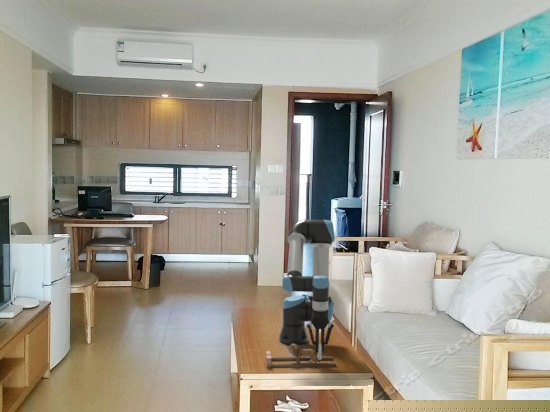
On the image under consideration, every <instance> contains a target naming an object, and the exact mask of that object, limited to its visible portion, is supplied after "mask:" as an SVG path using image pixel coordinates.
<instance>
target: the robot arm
mask: <svg viewBox="0 0 550 412" xmlns="http://www.w3.org/2000/svg"><path fill="white" fill-rule="evenodd" d="M335 241H336V237H335V229H334V223H333V221H332V220H330V219H329V220H328V219H302V220H299V221H297V222H296V223H295V224H293V225H292V227H291V228H290V230H289V231H288V234H287V243H288V244H289V245H288V258H287V271H286V272H287V274H286V275H283V276H282V285H281V286H282V290H283V291H284V292H299V293H300V292H304V293H310V294H309V296H308V297H309V298H308V299H307V298H306V297H305V295H300V294H299V295H292V296H287V297H286V298H284V299H283V304H282V328H281V330H280V333H279V337H278V338H279V339H278V340H279V341H280V342H281V343H283V344H287V345H291V344H296V345H303V344H306V343H308V340H309V338H308V333H307V330H306V327H307V329H308V332H309V336H310V341H311V344H312V345H314V346H315V349H314V351H315V352H316V353H317V358H318V360H319V361H322V360H321V359H322V357H323V356H322V355H323V354H322V353H324V352H325V345H329V341H330V337H331V333H332V330H333V329H334V327H335V325H334V323H332V322H331V321H332V319H333V312H334V307H335V306H334V304H335V301H334V300H333V299H332V296H331V294H330V279H329V278H330V276H329V275H330V272H329V271H330V248H331V247H332V246H333V243H334V242H335ZM306 242H310V243H309V244H310V246H311V247H312V276H310V275H303V269H304V268H303V267H304V266H303V265H304V246H305V243H306ZM305 322H307V323H305ZM308 322H309V323H308ZM312 327H314V328H315V329H314V330H315V339H314V333H313V329H312ZM327 327H328V328H327ZM326 328H327V331H326V335H325V329H326ZM319 340H320V341H319Z"/></svg>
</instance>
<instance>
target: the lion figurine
mask: <svg viewBox="0 0 550 412" xmlns="http://www.w3.org/2000/svg"><path fill="white" fill-rule="evenodd" d="M289 353H290V354H291V355H292V357H297V360H295V363H301V360H300V358H301V357H311V360H308V363H313V361H314V363H321V360H318V358H317V357H318V353H317V352H316V351H315V349H312V348H303V347H302V346H300V345H299V344H289ZM315 357H316V359H317V360H316V359H315Z"/></svg>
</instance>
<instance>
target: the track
mask: <svg viewBox="0 0 550 412" xmlns="http://www.w3.org/2000/svg"><path fill="white" fill-rule="evenodd" d="M271 353H272V352H271V350H266V351H265V362H266V368H305V367H306V368H307V367H308V368H313V367H315V368H317V367H318V368H320V367H321V368H322V367H324V368H325V367H327V368H328V367H329V368H330V367H335V368H336V367H337V363H336V362H317V363H315V362H300V363H297V362H288V363H287V362H286V363H285V362H282V363H281V362H279V363H278V362H276V361H296V360H297V357H295V356H272V354H271ZM314 357H315V359H316V356H314ZM309 360H311V357H310V356H307V357H301V358H300V361H309ZM316 360H317V359H316ZM333 360H334V356H322V359H321V360H320V361H333ZM272 361H275V362H273V363H272Z"/></svg>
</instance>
